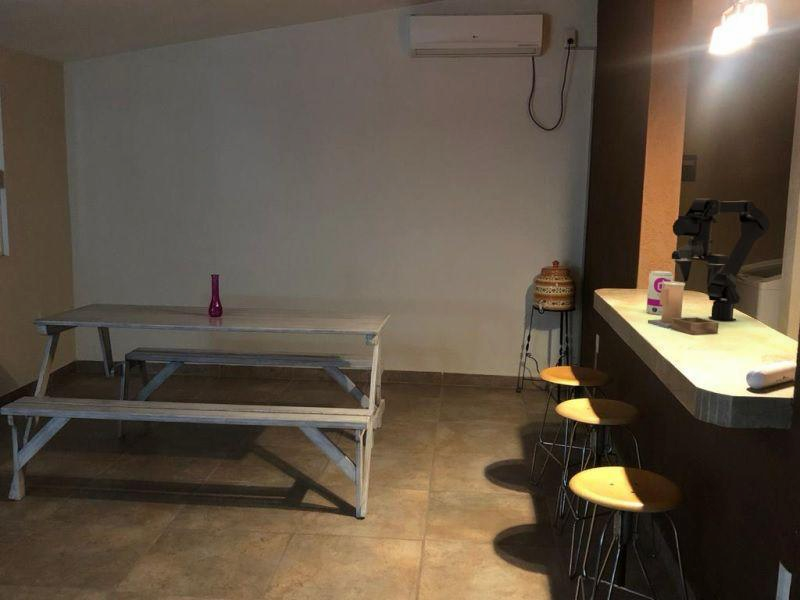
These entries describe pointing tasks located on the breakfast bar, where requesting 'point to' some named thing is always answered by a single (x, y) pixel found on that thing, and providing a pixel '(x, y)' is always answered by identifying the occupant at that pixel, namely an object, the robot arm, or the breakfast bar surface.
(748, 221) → the robot arm
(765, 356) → the breakfast bar surface
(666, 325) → the tile
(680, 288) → the peach plastic cup
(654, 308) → the supplement can
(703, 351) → the breakfast bar surface
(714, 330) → the frame
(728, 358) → the breakfast bar surface
